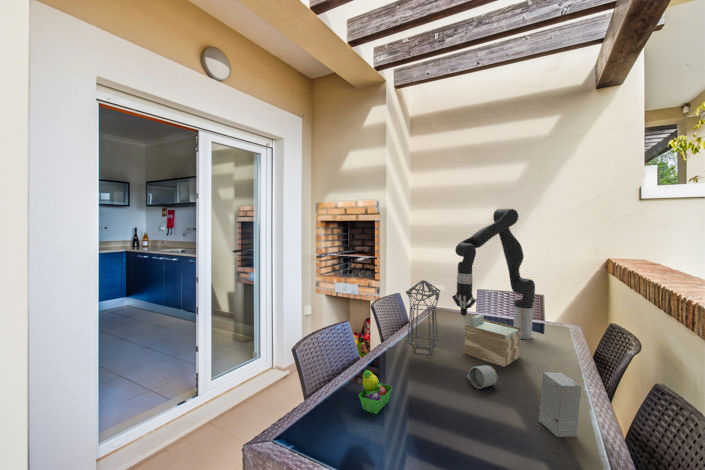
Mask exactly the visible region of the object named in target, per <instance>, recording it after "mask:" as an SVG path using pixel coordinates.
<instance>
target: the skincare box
mask: <svg viewBox="0 0 705 470" xmlns="http://www.w3.org/2000/svg"><path fill="white" fill-rule="evenodd" d="M581 394H582V385H581V384H579V383H577V382H575V381H574V380H573V379H572V378H571V377H568V376H567V375H565V374H564V373H563V372H551V371H550V372H549V371H548V372H547V371H545V372H543V373H542V383H541V393H540V402H539V411H538V412H539V413H538V421H539V422H540V423H541V424H542V425H543V426H544V427H545V428H546V429H547V430H549V431H550V432H551V433H552V434H553V435H554V436H555V437H556V438H576V437H577V436H578V435H577V434H578V425H579V413H580V405H581V404H580V402H581Z"/></svg>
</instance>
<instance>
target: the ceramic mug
mask: <svg viewBox="0 0 705 470" xmlns="http://www.w3.org/2000/svg"><path fill="white" fill-rule="evenodd" d="M468 370H469V371H468V374H467V380H469V381H470V383H471V385H473V387H474V388H477V389H480V390H481V389H483V388H487V387H490V386H493V385H495V384H496V383H497V382H498V375H497V372H496V369H494V368H493V367H492V366H491V365H477V366H473V367H471V368H470V369H468Z"/></svg>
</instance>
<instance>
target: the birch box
mask: <svg viewBox="0 0 705 470" xmlns="http://www.w3.org/2000/svg"><path fill="white" fill-rule="evenodd" d="M484 321H485V322H489V323H493V324H497V325H502V326H506V327H510V328H514V329H518V330H519V332H518V333H516V334H514V335H512V336H510V337H508V338H506V335H503V334H499V333H495V332H491V331H488V330H484V329H480V328H476V327H472V326H470V325H469V324H468V325H467V324H464V351H463V352H464V353H463V354H465V355H467V356H470V357H473V358H477V359H480V360H482V361H485V362H488V363H492V364H494V365H498V366H500V367H504V368H505V367H507V366H509V365H510V364H511V363H513V362H514V361H516V360H518V359H519V358H520V357H521V339H520V330H521V328H519V327H515V326H514V325H510V324H507V323H501V322H496V321H492V320H488V319H485V318H484ZM505 338H506V339H505Z"/></svg>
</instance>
